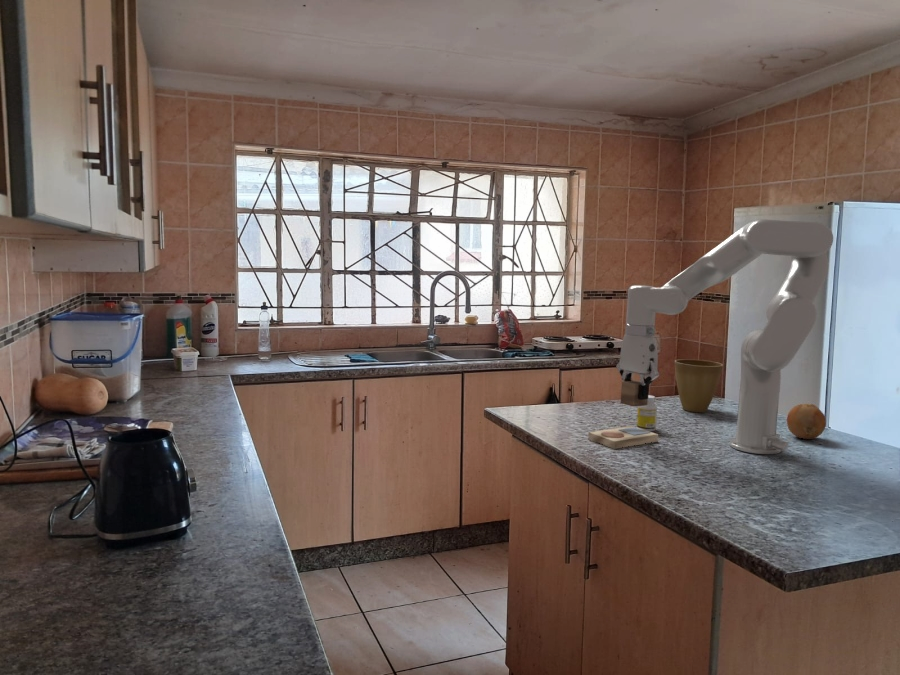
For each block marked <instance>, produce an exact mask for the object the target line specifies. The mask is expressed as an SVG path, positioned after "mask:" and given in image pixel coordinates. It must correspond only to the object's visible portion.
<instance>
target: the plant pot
mask: <svg viewBox="0 0 900 675" xmlns="http://www.w3.org/2000/svg"><path fill="white" fill-rule="evenodd" d="M723 367H724V365H723V363H720V362H716V361H711V360H704V359H692V358H691V359H689V358H687V359H685V358H684V359H681V358H680V359H676V360H674V369H675V372H674V373H675V381H676V387H677V391H678V392H677V393H678V396H679V400H680V403H681V407H682V409H683V410H685V411H687V412H692V413H705V412H707V410H708V408H709V407H710V405H711V403H712V400H713V398H714V396H715V393H716V390H717V388H718V385H719V381H720V379H721V374H722V370H723Z"/></svg>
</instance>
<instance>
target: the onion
mask: <svg viewBox="0 0 900 675" xmlns="http://www.w3.org/2000/svg"><path fill="white" fill-rule="evenodd" d="M786 424H787V429H788V431H789V432H790V433H791V434H792V435H794V436H795V437H797V438H798V437H799V438H798V439H801V438H803V439H802V440H812V439H815V438H817V437H819V436H820V435H821V436H822V434H823V433H824V431H825V429H826V427H827V426H826V425H827V420H826V416H825V414H824V412H823V411H822V410H821V409H820V408H819V407H818V406H817V405H815V404H812V403H802V404H797V405H794V406H793V407H792V408H791V409H790V410H789V412H788V414H787V416H786Z"/></svg>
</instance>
